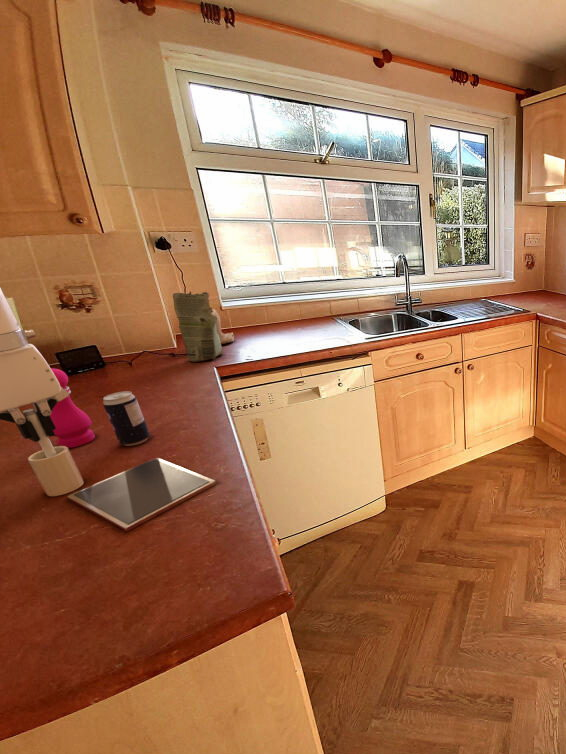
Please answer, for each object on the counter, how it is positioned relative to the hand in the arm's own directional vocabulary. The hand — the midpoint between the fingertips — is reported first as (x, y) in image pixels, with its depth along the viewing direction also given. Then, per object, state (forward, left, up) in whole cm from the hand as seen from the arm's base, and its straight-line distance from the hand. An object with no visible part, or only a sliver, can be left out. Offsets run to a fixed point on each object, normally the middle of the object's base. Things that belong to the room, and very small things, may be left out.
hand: (41, 436), depth 79 cm
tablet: (+6, -16, -11) cm, 21 cm away
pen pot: (0, 0, -12) cm, 12 cm away
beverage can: (+16, +9, -12) cm, 22 cm away
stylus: (0, 0, -9) cm, 9 cm away
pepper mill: (+10, +22, -12) cm, 27 cm away
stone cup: (+74, +74, -12) cm, 105 cm away
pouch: (+62, +59, -12) cm, 86 cm away
